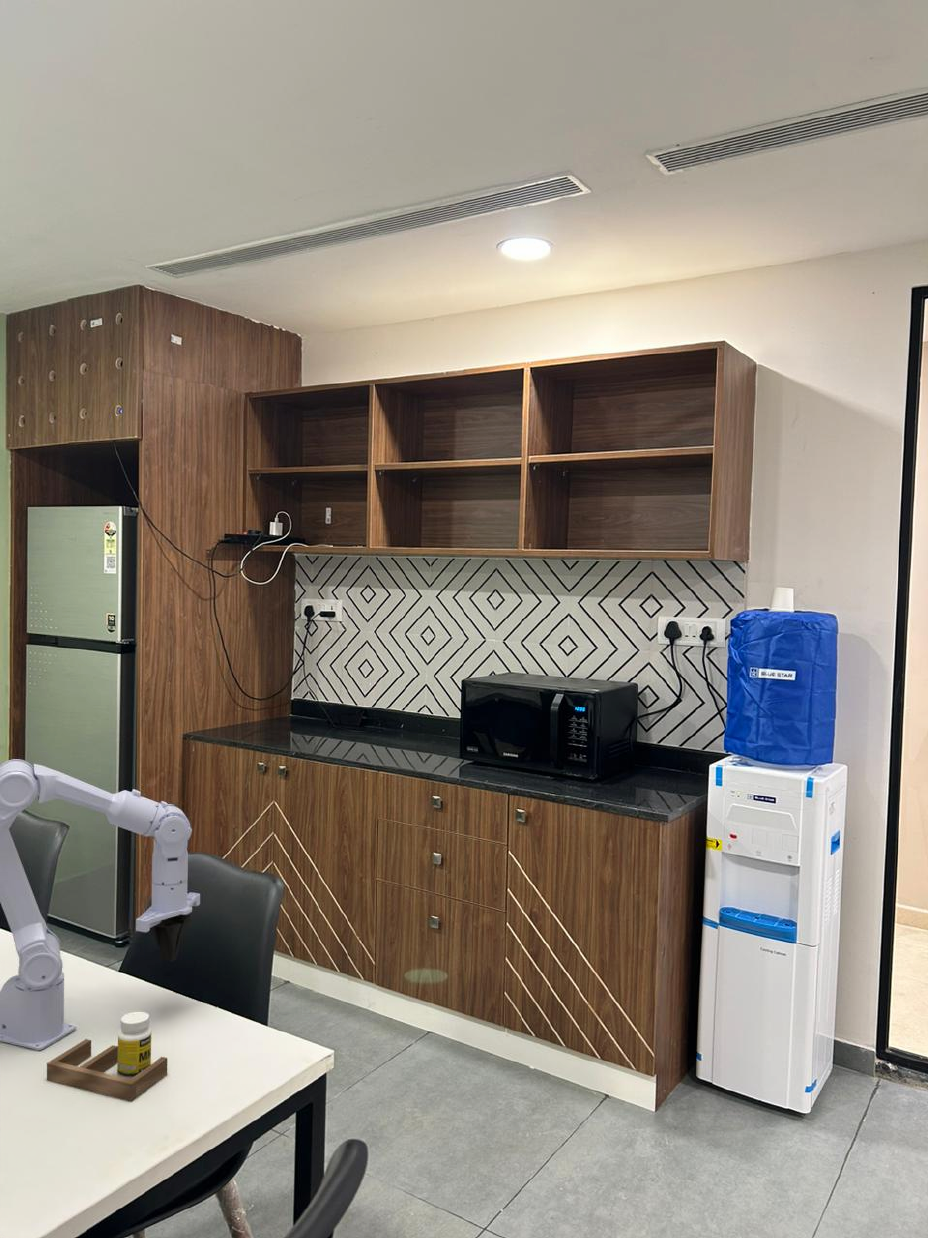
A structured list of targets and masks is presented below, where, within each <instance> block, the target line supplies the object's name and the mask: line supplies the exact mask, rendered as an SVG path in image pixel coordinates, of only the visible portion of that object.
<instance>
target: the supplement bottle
mask: <svg viewBox="0 0 928 1238" xmlns="http://www.w3.org/2000/svg"><path fill="white" fill-rule="evenodd" d="M117 1046H118V1060H117V1063H116V1066H117V1069H116V1073H117V1074H116V1076H118V1077H122V1078H126V1079H132V1078H133V1077H135V1076H136V1075H137V1074H139V1073H140V1072H141V1071H143V1070H144V1069H146V1068H147V1067H148V1066H150V1065H151V1064H152V1063H151V1062H152V1029H151V1027H150V1014H149V1013H148V1012H144V1011H132V1012H129V1013H126V1014H123V1016H122V1017H121V1018H120V1030H119V1032H118V1033H117Z"/></svg>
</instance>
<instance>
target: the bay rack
mask: <svg viewBox="0 0 928 1238" xmlns="http://www.w3.org/2000/svg"><path fill="white" fill-rule="evenodd" d="M90 1057H92V1040H91V1039H87V1038H85V1039H84V1040H82V1041H80V1042H78V1043H77V1044H76V1045H73V1047H71V1048H69V1049H68V1050H66V1051H64V1052H63V1053H61V1054H60V1055H58V1056H56V1057H55V1058H53V1059H51V1060H50V1061H47V1063H46V1081H48V1082H52V1083H57V1084H61V1085H64V1086H69V1087H71V1088H72V1087H73V1088H77V1089H80V1090H84V1091H88V1092H92V1093H96V1094H100V1095H103V1096H108V1097H111V1098H114V1099H118V1098H119V1100H121V1101H122V1100H124V1101H127V1102H130V1103H132V1102H133V1101H134V1100H136V1099H137V1098H138V1097H140V1096H141V1095H142V1094H144V1093H145V1092H146V1091H148V1090H149V1089H150V1088H152V1087H153V1086H154V1085H156V1083H158V1082H159V1081H161V1080H162V1079H163V1078H165V1077H166V1076H168V1057H164V1056H161V1057H159V1058H158V1059H157V1060H155V1061H154V1062H153V1063H151V1065H150V1066H148V1067H147V1068H146V1069H144V1070H143V1071H141V1072H140V1073H139V1074H137V1075H136V1076H135V1077H133V1078H132V1079H126V1078H122V1077H118V1075H114V1074H109V1073H106V1072H107V1071H108V1070H109V1069H111V1068H112V1067H113V1066H116V1065H117V1060H118V1045H113V1044H112V1045H111V1046H109V1047H107V1048H106V1049H105V1050H103V1051H101V1052H100V1053H98V1054H97V1055H96V1056H93V1057H92V1058H91V1059H89V1058H90ZM87 1059H89V1060H88V1061H86V1060H87ZM84 1061H86V1062H85V1063H83V1062H84ZM81 1063H83V1064H82V1065H80V1064H81ZM79 1065H80V1066H79Z"/></svg>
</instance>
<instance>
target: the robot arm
mask: <svg viewBox="0 0 928 1238" xmlns="http://www.w3.org/2000/svg"><path fill="white" fill-rule="evenodd" d="M36 797H37V800H38V801H37V803H38V804H43V803H46V802H49V801H52V800H56V799H59V800H63V801H66V802H70V803H72V804H76V805H79V806H81V807H85V808H87V809H92V810H94V811H97V812H101V813H103V814H105V816H106V818H107V820H108V823H109V824H110V825H113V826H115V827H119V828H120V829H121V828H122V829H123V830H128V831H130V832H133V833H135V834H138V835H141V836H144V837H154V838H153V852H152V859H151V860H152V862H151V863H152V864H151V865H152V866H151V905H150V906H149V908H147V909H146V911H145V912H144V913H143V914H142V915H141V916H139V917H137V918H136V919H135V931H136V932H141V933H148V932H149V931H150V932H151V934H152V935H153V936H154V939H155V941H156V945H157V947H158V952H159V953H158V954H159V956H160V959H161V961H162V962H166V963H173V962H174V961H176V960H177V957H178V953H179V949H180V945H181V942H182V939H183V936H184V934H185V932H186V930H187V927H188V926H189V924H190V922H191V915H190V913H192V912H193V907H198V906H200V905H201V894H200V893H198V892H191V891H190V892H189V893H188V876H189V875H188V874H189V873H188V872H189V866H188V865H189V852H188V845H189V844H188V843H189V842H188V841H189V840H190V838H191V835H192V833H193V828H192V827H191V823H190V821H189V819H188V818H187V816H186V814H185V813H184V812H183V810H182V809H180V808H179V807H177V806H175V804H173V803H169V804H168V802H166V801H163V800H161V801H160V802H157V801H155V800H153V799H149V798H147V797H144V796H141V791H139V790H137V789H134V788H133V789H132V791H129V790H125V789H124V790H122V791H119V792H116V793H111V792H109V791H106V790H104V789H101V788H99V787H97V786H95V785H92V784H89V783H88V782H85V781H82V780H80V779H78V778H76V777H73V776H71V775H68V774H65V773H63V772H61V771H60V770H59V771H58V770H55V769H52V768H50V767H48V766H45V765H42V764H37V763H33V766H32V764H31V763H29V762H28V761H26V760H24V759H19V758H17V759H16V758H13V759H10V760H7V761H4V762H3V763H2V764H0V904H1V907H2V910H3V913H4V915H5V918H6V920H7V924H8V926H9V928H10V931H11V934H12V937H13V942H14V946H15V950H16V953H17V956H18V969H17V974H16V975H14V976H13V975H12V977H10V978H9V979H7V980H6V981H5V983H4V984H3V985H2V986H1V989H0V1042H3V1043H7V1044H12V1045H16V1046H20V1047H24V1048H29V1049H32V1050H36V1051H42V1050H43V1049H45V1048H47V1047H48V1046H50V1045H52V1044H53V1043H55V1042H57V1041H58V1040H60V1039H62V1038H63V1037H65V1036H67V1035H68V1034H71V1033H72V1032H74V1031H75V1030H77V1026H76V1025H75V1024H69V1023H65V1020H64V1018H65V973H64V972H63V967H64V966H63V960H62V958H61V957H62V956H61V942H60V939H59V938H58V936H57V935H56V934H55V932H52V931H51V930H50V928H49V927H48V926H47V923H46V920H45V919H44V918H43V915H42V913H41V911H40V909H39V905H38V903H37V900H36V897H35V896H34V892H33V890H32V887H31V885H30V882H29V879H28V877H27V874H26V872H25V868H24V865H23V863H22V861H21V858H20V856H19V852H18V850H17V847H16V845H15V842H14V839H13V837H12V834H11V832H10V828H11V826H12V824H13V823H14V821H15V820H16V818H17V817H18V815H19V814H20V813H22V812H23V811H24V810H25V809H27V808H28V807H29V806H30V805H31V804H32V802H34V800H35V798H36Z"/></svg>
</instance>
